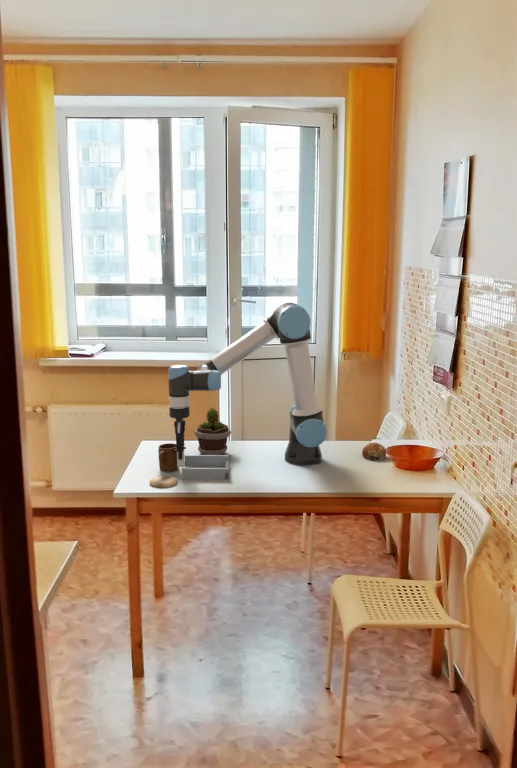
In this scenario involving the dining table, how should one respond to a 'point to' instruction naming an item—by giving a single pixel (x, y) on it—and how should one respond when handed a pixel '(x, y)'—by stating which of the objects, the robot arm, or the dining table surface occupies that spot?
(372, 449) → the bread roll
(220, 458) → the u-shaped frame
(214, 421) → the flowerpot
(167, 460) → the mug
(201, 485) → the dining table surface
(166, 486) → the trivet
